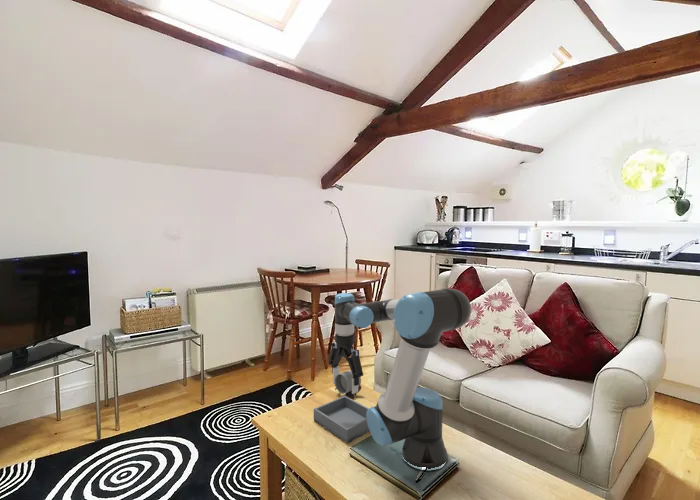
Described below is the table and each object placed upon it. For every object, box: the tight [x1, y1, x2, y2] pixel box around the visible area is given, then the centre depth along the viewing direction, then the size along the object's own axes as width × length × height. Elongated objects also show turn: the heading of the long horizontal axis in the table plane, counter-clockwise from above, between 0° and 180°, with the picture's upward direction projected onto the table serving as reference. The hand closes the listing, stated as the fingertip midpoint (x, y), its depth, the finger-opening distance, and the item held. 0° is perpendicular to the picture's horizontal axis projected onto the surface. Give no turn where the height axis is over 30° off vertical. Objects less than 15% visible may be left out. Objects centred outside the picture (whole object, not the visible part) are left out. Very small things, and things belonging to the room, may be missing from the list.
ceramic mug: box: [334, 369, 362, 395], centre depth 151 cm, size 11×8×8 cm
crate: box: [313, 396, 370, 444], centre depth 152 cm, size 21×17×5 cm
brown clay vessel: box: [335, 385, 362, 400], centre depth 176 cm, size 12×10×8 cm
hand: (345, 387), depth 151 cm, fingers closed on ceramic mug, 11 cm apart
